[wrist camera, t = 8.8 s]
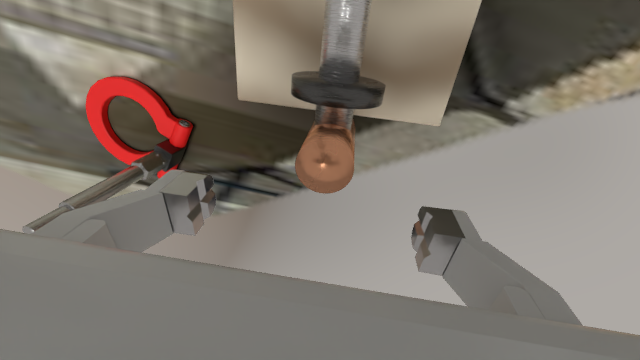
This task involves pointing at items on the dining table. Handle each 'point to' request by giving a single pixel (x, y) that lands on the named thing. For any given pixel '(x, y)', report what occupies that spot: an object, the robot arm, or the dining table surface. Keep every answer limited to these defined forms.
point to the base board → (378, 57)
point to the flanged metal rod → (335, 97)
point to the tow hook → (140, 162)
